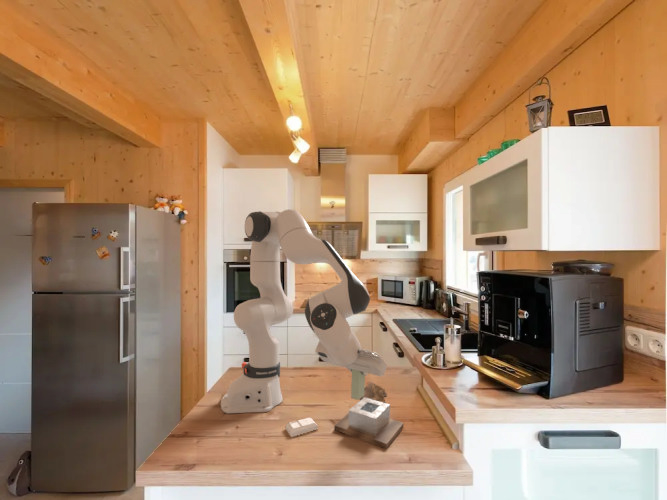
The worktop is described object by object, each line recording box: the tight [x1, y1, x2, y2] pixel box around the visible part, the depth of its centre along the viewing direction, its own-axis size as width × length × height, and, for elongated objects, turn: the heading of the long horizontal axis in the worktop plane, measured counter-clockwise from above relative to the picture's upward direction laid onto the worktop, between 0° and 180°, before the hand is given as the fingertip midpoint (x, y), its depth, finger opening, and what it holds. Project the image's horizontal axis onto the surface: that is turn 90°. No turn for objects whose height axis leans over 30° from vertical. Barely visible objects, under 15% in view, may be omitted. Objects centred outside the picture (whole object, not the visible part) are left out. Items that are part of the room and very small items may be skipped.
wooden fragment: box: [360, 381, 388, 403], centre depth 133 cm, size 26×11×1 cm, turn 172°
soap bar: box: [285, 417, 319, 438], centre depth 108 cm, size 5×9×3 cm, turn 118°
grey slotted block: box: [348, 397, 391, 437], centre depth 109 cm, size 9×11×6 cm
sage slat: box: [350, 369, 366, 401], centre depth 102 cm, size 2×4×12 cm, turn 148°
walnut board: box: [334, 412, 404, 450], centre depth 109 cm, size 18×14×2 cm
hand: (359, 371), depth 102 cm, fingers closed on sage slat, 2 cm apart
